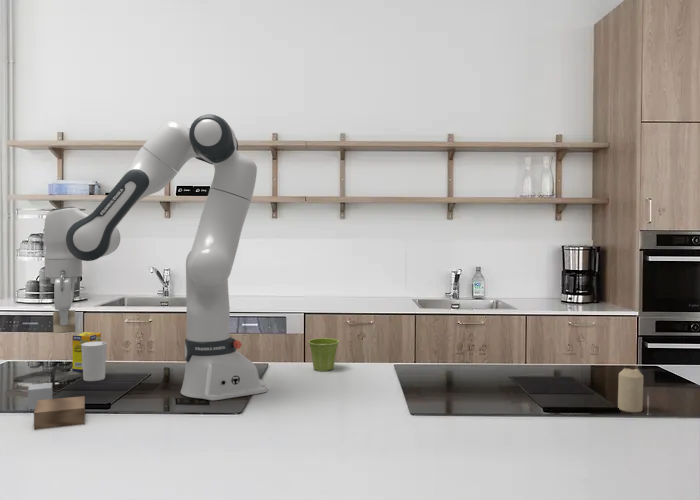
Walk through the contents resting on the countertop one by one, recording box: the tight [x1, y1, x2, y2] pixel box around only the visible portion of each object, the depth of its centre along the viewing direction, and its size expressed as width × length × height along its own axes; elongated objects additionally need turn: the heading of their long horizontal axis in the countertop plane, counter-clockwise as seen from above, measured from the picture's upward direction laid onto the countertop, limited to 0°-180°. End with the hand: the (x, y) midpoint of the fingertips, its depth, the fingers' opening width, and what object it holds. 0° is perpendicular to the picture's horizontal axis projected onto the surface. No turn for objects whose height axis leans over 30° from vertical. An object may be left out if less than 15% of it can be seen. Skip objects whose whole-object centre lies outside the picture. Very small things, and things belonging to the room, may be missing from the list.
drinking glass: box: [81, 341, 107, 382], centre depth 178 cm, size 7×7×10 cm
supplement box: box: [71, 331, 102, 373], centre depth 188 cm, size 6×6×11 cm
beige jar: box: [617, 367, 644, 413], centre depth 152 cm, size 6×6×10 cm
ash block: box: [52, 309, 76, 334], centre depth 163 cm, size 5×5×5 cm
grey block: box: [27, 382, 54, 411], centre depth 151 cm, size 5×5×5 cm
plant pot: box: [307, 337, 340, 372], centre depth 191 cm, size 9×9×9 cm
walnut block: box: [33, 395, 86, 430], centre depth 141 cm, size 10×10×4 cm
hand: (64, 322), depth 163 cm, fingers closed on ash block, 5 cm apart
